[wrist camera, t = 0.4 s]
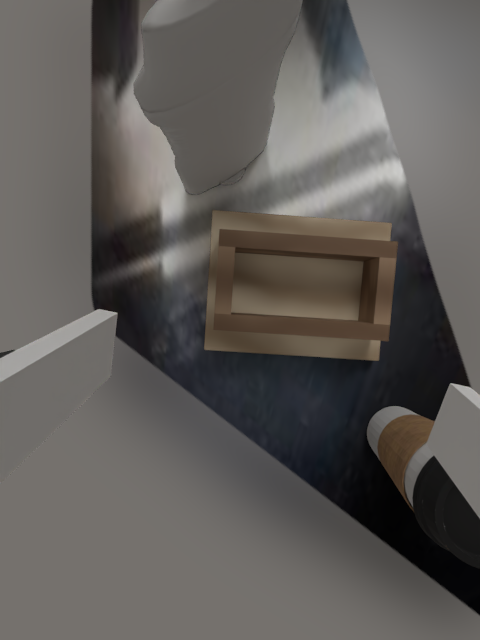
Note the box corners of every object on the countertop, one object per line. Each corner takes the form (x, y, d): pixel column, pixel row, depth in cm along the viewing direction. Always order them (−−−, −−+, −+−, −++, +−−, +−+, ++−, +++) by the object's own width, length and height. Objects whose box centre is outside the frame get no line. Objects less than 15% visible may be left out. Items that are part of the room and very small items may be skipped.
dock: (213, 213, 37) (209, 199, 31) (385, 225, 37) (411, 214, 32) (205, 347, 38) (200, 356, 32) (372, 358, 38) (396, 368, 33)
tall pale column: (258, 118, 36) (297, -157, 14) (280, 152, 36) (352, -63, 14) (171, 176, 36) (78, -5, 14) (194, 210, 37) (136, 85, 15)
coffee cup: (392, 484, 39) (491, 602, 24) (338, 433, 39) (406, 520, 24) (447, 431, 39) (581, 517, 24) (394, 378, 38) (497, 432, 23)
